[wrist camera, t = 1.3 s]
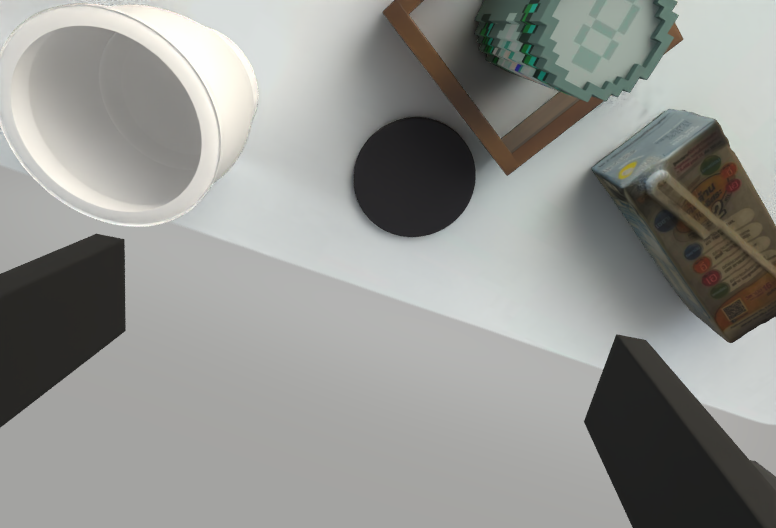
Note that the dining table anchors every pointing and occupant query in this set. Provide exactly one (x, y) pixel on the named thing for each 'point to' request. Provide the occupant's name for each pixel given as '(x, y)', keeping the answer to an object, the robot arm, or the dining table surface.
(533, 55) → the can
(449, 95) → the wooden square frame
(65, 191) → the jar
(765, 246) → the beverage carton
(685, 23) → the dining table surface
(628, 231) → the dining table surface
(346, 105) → the dining table surface
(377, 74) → the dining table surface
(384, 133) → the coaster
